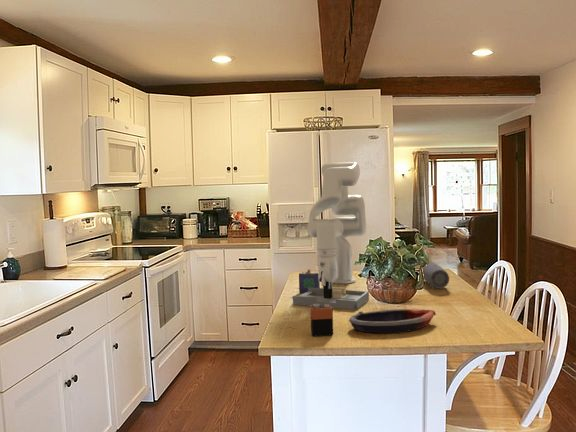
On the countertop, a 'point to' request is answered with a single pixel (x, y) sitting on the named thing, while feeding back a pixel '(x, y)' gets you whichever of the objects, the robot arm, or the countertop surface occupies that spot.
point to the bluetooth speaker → (435, 275)
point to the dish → (391, 320)
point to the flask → (308, 281)
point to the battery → (321, 320)
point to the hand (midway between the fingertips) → (328, 297)
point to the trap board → (332, 299)
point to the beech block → (338, 292)
